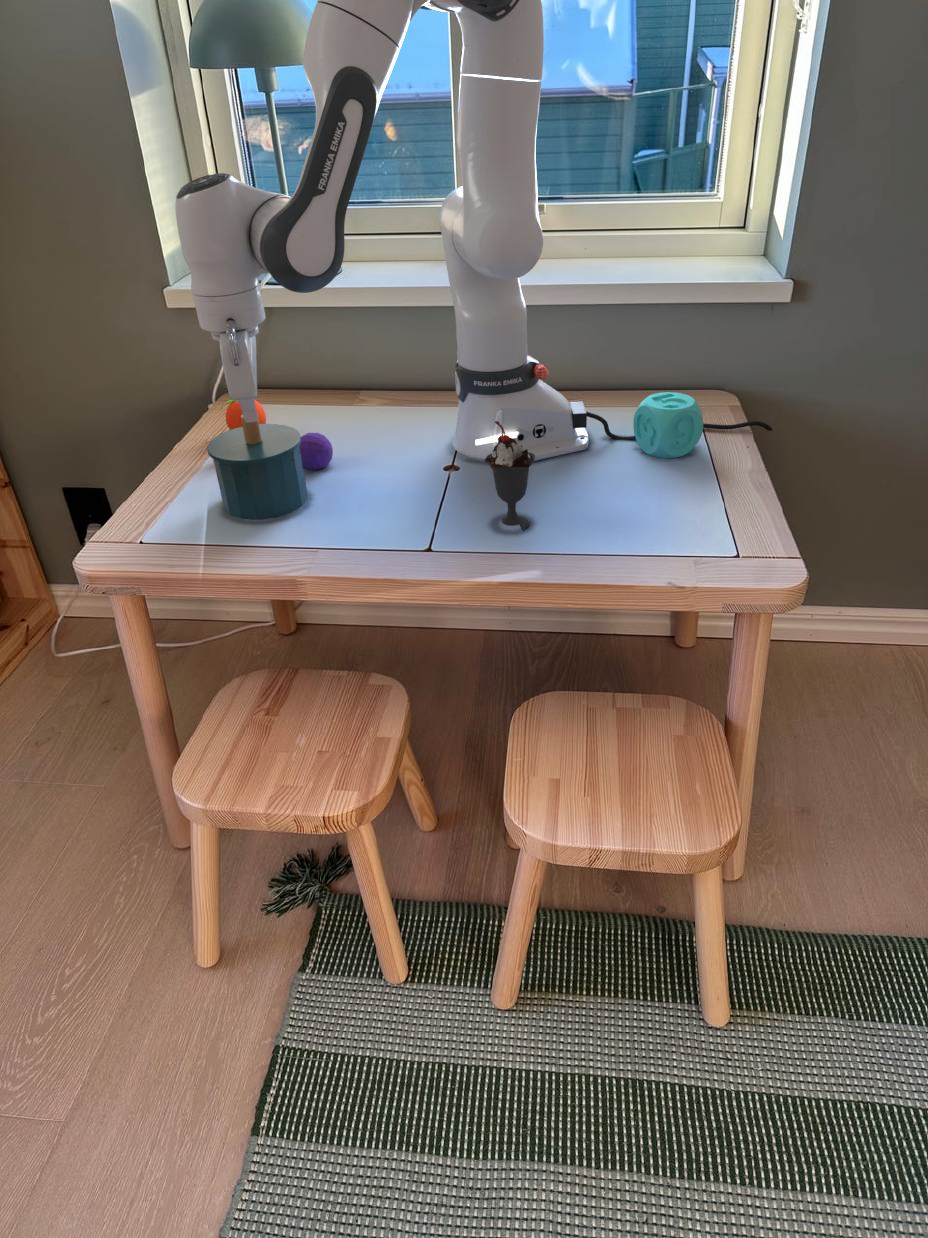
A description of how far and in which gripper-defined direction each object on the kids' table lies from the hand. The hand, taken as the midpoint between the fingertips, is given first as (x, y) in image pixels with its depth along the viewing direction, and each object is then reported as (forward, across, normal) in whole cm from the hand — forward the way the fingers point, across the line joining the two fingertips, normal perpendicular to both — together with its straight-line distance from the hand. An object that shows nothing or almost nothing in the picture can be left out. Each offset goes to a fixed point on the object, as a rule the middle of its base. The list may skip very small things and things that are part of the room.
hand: (251, 408), depth 130 cm
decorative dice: (+17, +1, -63) cm, 65 cm away
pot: (+15, 0, +1) cm, 15 cm away
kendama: (+15, +14, -1) cm, 21 cm away
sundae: (+16, -17, -33) cm, 41 cm away
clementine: (+15, +28, +4) cm, 32 cm away
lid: (+6, 0, +1) cm, 6 cm away
